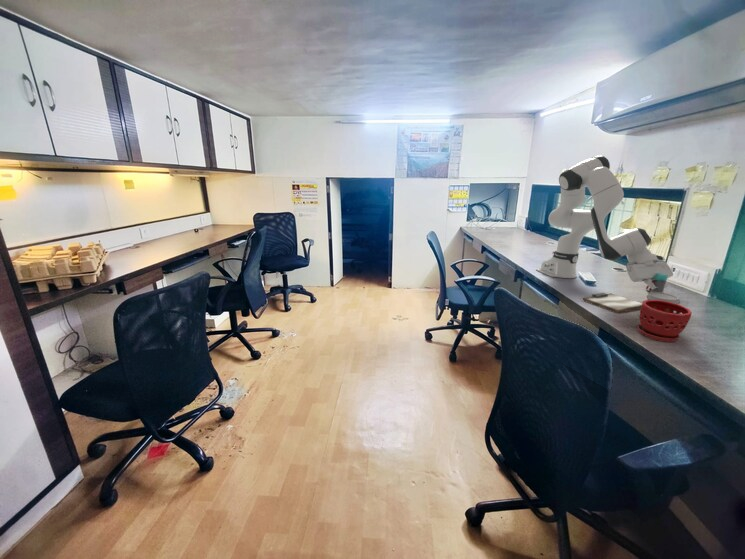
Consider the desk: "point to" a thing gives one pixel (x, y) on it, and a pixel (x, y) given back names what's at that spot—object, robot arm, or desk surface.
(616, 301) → the clipboard
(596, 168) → the robot arm
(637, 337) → the desk surface
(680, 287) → the desk surface
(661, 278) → the ball
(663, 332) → the plant pot
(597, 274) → the desk surface
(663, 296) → the disposable coffee cup
